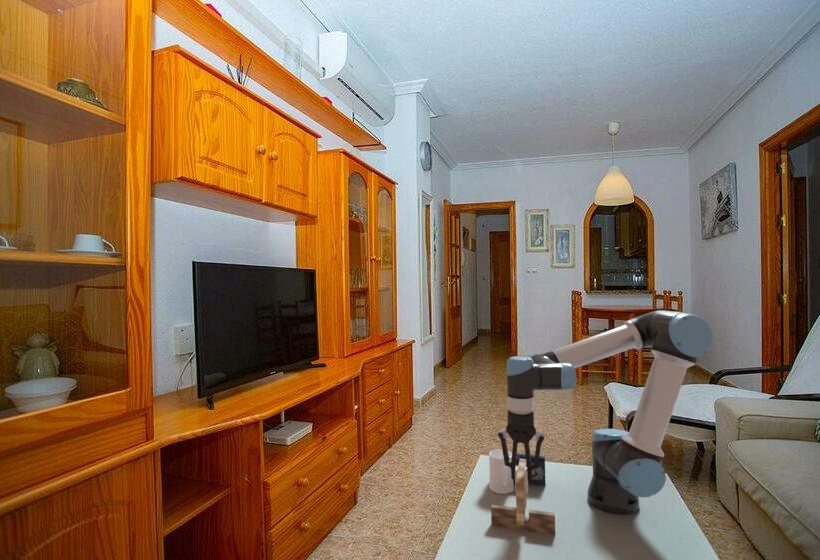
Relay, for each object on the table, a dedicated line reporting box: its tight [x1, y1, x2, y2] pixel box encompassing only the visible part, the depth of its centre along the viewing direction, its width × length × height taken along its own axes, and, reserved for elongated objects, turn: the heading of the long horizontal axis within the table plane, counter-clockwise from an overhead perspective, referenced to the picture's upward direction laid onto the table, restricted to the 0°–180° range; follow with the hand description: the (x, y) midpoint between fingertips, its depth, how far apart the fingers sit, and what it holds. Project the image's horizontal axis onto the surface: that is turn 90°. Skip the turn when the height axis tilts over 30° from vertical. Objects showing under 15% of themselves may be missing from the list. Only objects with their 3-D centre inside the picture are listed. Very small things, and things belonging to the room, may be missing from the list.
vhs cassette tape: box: [513, 453, 547, 487], centre depth 158 cm, size 18×3×10 cm, turn 72°
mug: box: [488, 449, 515, 495], centre depth 152 cm, size 12×8×12 cm
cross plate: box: [515, 459, 528, 526], centre depth 129 cm, size 16×2×12 cm, turn 162°
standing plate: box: [490, 504, 556, 536], centre depth 129 cm, size 18×2×6 cm, turn 73°
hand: (521, 490), depth 129 cm, fingers closed on cross plate, 2 cm apart
